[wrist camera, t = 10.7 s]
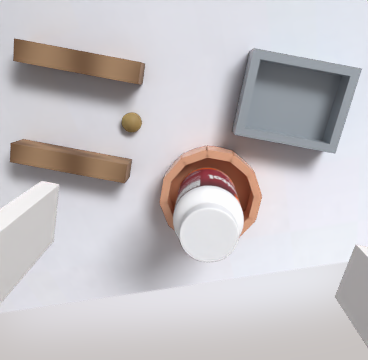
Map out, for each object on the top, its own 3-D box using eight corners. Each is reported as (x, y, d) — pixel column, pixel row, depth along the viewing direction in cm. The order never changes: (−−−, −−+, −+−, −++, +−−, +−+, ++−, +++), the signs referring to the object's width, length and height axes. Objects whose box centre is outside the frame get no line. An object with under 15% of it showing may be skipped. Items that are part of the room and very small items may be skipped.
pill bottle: (246, 195, 37) (266, 241, 26) (203, 229, 38) (205, 286, 27) (210, 153, 35) (214, 183, 25) (166, 189, 37) (153, 232, 26)
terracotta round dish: (157, 224, 39) (154, 235, 36) (171, 138, 36) (169, 142, 33) (244, 240, 39) (247, 252, 36) (266, 155, 36) (271, 161, 33)
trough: (232, 131, 35) (234, 134, 33) (249, 50, 33) (253, 48, 30) (325, 148, 35) (335, 153, 33) (349, 69, 33) (362, 68, 30)
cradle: (22, 156, 37) (10, 162, 35) (27, 41, 34) (14, 38, 31) (133, 177, 37) (129, 184, 35) (150, 64, 34) (146, 63, 31)
